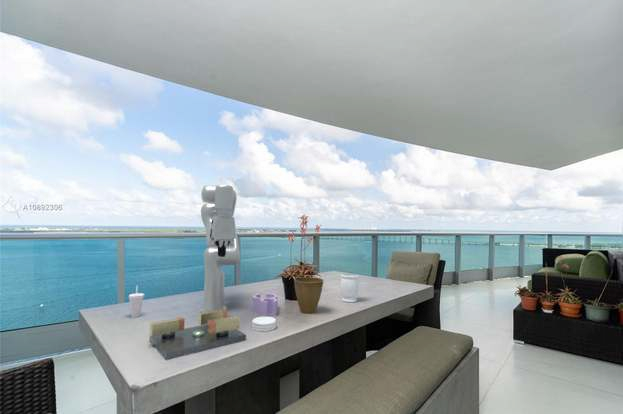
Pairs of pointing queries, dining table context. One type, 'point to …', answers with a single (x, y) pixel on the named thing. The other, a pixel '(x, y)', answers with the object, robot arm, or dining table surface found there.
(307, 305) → the plant pot
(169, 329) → the olive and orange block
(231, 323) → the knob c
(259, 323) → the white round disc
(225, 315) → the beige rectangular block
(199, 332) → the plate
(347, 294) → the jar
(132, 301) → the smoothie
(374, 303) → the dining table surface
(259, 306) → the lavender lobed block
